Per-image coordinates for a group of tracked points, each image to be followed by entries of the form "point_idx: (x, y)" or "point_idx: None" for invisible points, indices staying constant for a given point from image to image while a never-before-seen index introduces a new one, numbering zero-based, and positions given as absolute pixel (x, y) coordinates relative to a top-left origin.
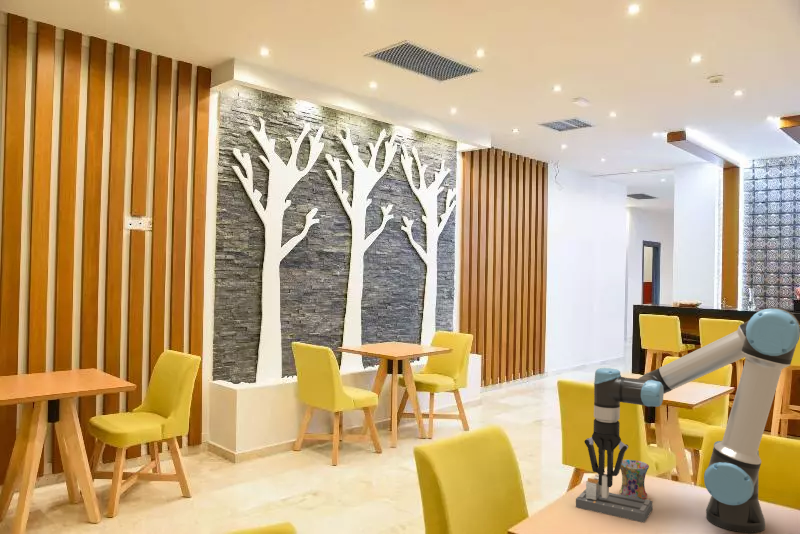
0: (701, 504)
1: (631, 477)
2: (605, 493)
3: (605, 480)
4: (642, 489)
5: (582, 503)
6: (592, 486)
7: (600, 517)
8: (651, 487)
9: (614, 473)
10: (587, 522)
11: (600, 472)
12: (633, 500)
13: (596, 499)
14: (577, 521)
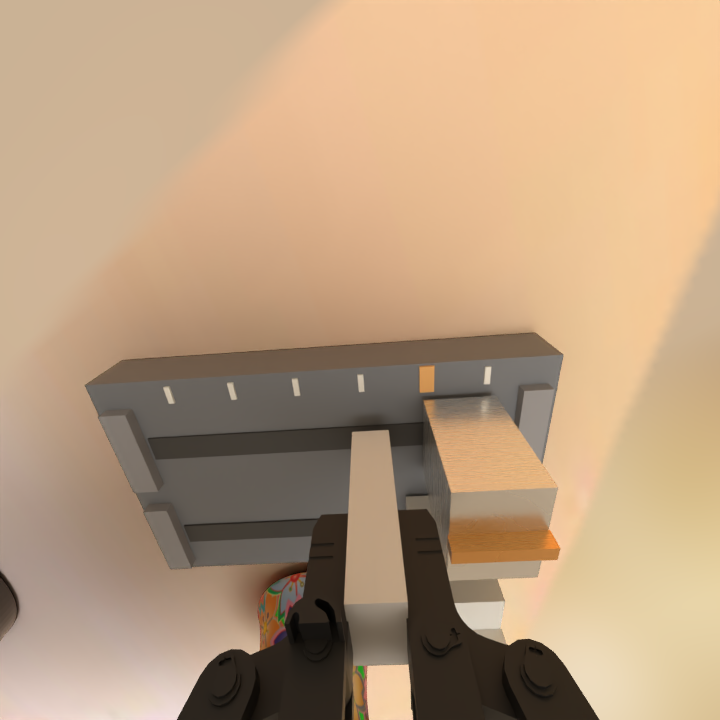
0: (95, 651)
1: None
2: (360, 455)
3: (362, 558)
4: (261, 645)
5: (503, 348)
6: (479, 465)
7: (350, 270)
8: None
9: (228, 692)
10: (394, 100)
11: (438, 654)
12: (243, 529)
13: (423, 414)
14: (469, 59)
